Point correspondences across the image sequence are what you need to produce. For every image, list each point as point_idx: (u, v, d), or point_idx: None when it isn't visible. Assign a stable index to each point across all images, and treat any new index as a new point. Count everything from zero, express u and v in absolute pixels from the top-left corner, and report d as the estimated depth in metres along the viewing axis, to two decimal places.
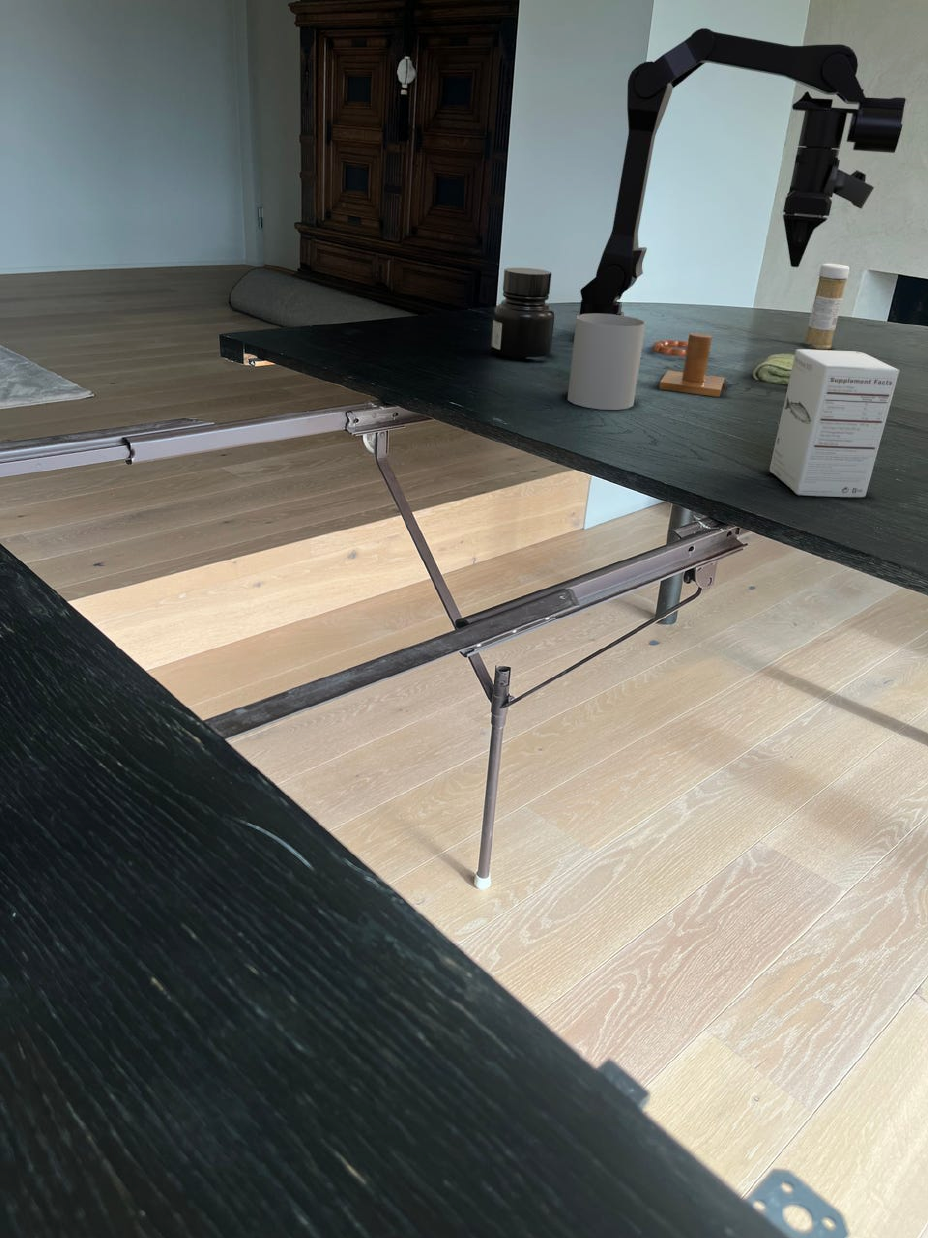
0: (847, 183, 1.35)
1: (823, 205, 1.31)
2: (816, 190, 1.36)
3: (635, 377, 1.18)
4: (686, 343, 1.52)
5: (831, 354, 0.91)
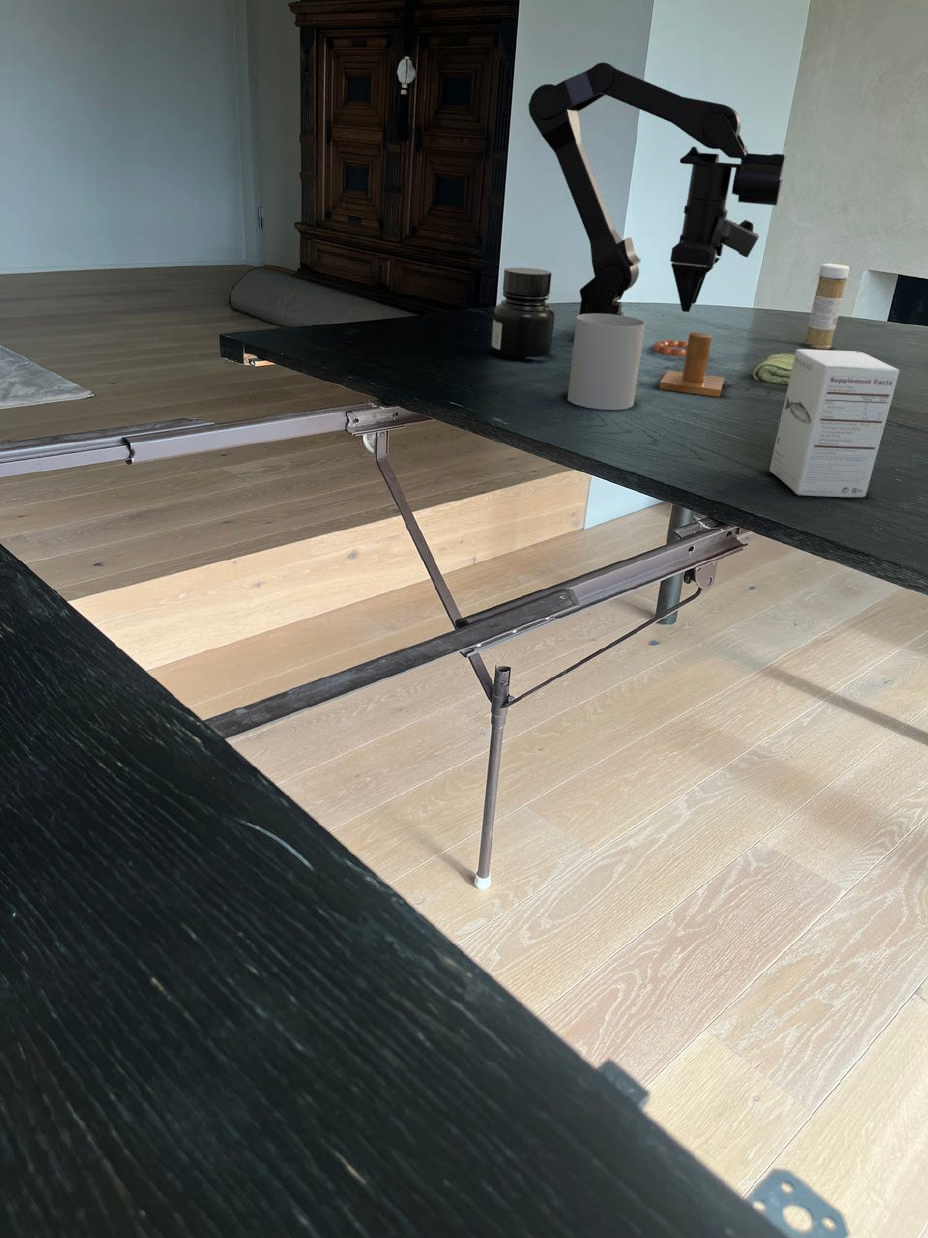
0: (733, 233, 1.42)
1: (706, 256, 1.38)
2: (704, 239, 1.43)
3: (635, 377, 1.18)
4: (686, 343, 1.52)
5: (831, 354, 0.91)
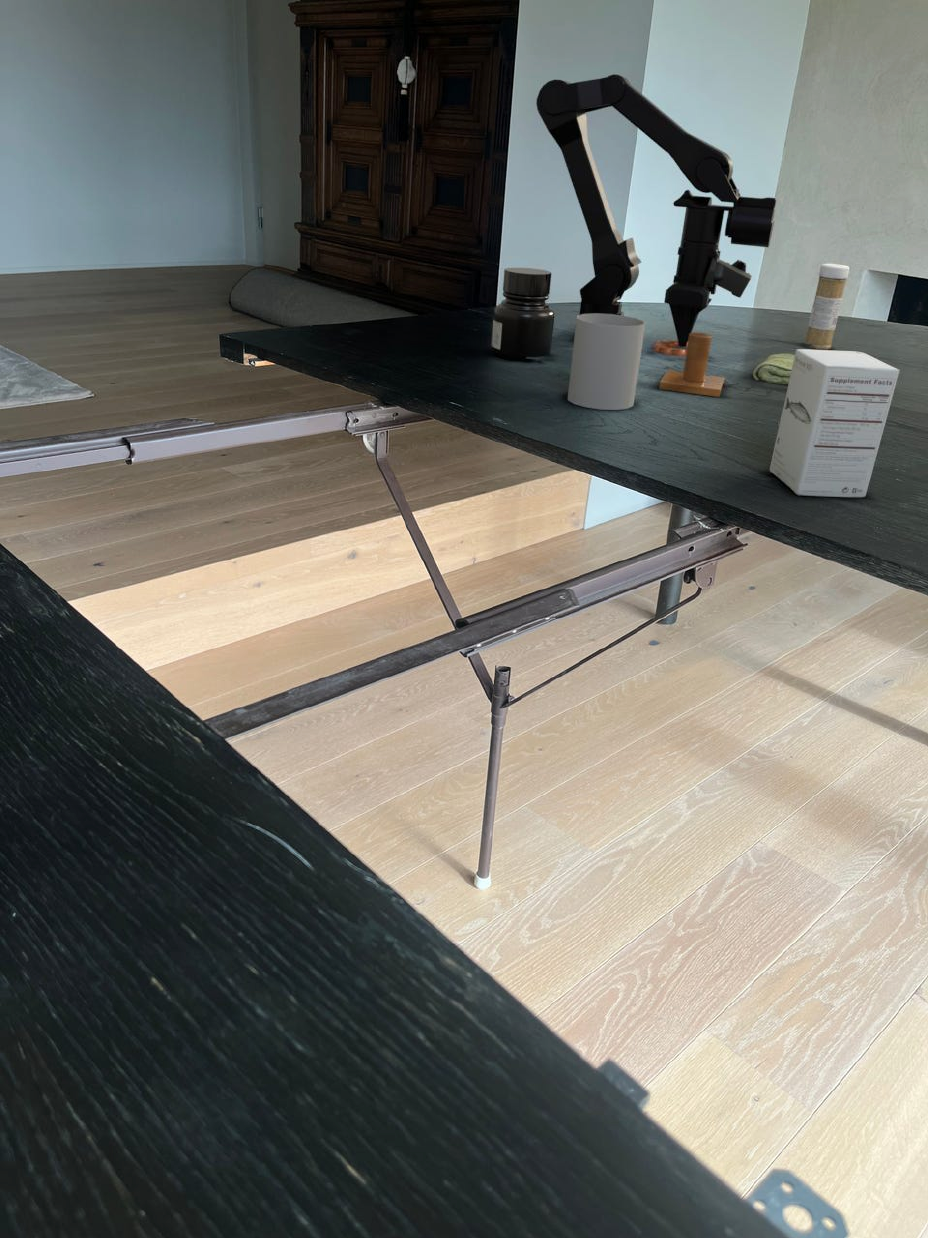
0: (725, 275, 1.45)
1: (700, 298, 1.41)
2: (697, 280, 1.46)
3: (635, 377, 1.18)
4: None
5: (831, 354, 0.91)
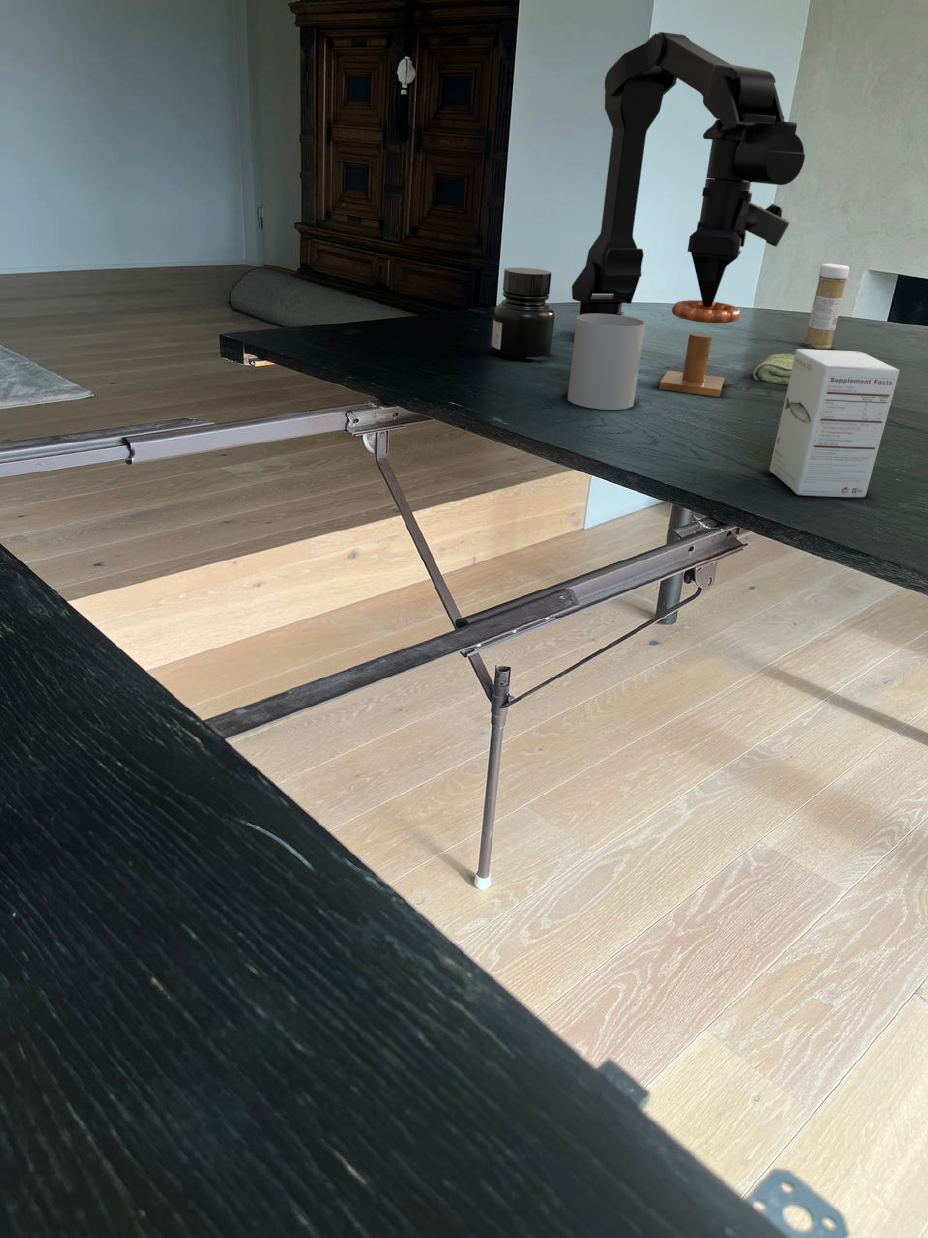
0: (759, 219, 1.22)
1: (730, 244, 1.18)
2: (726, 226, 1.23)
3: (635, 377, 1.18)
4: (712, 303, 1.30)
5: (831, 354, 0.91)
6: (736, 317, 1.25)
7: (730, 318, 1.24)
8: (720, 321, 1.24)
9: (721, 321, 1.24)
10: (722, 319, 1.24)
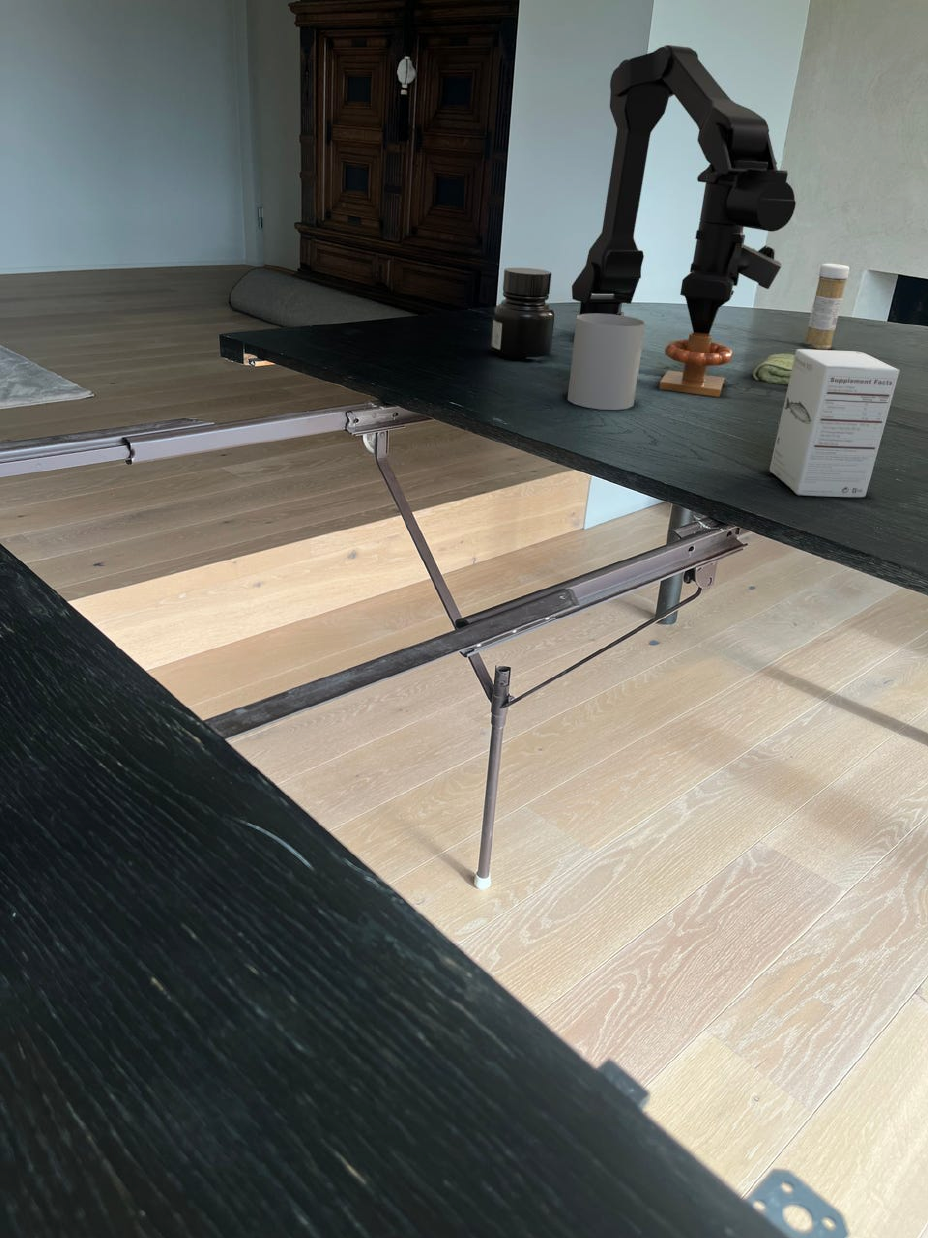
0: (752, 262, 1.24)
1: (722, 289, 1.20)
2: (719, 269, 1.25)
3: (635, 377, 1.18)
4: None
5: (831, 354, 0.91)
6: (728, 359, 1.27)
7: (722, 361, 1.26)
8: (712, 364, 1.26)
9: (713, 364, 1.26)
10: (714, 362, 1.26)
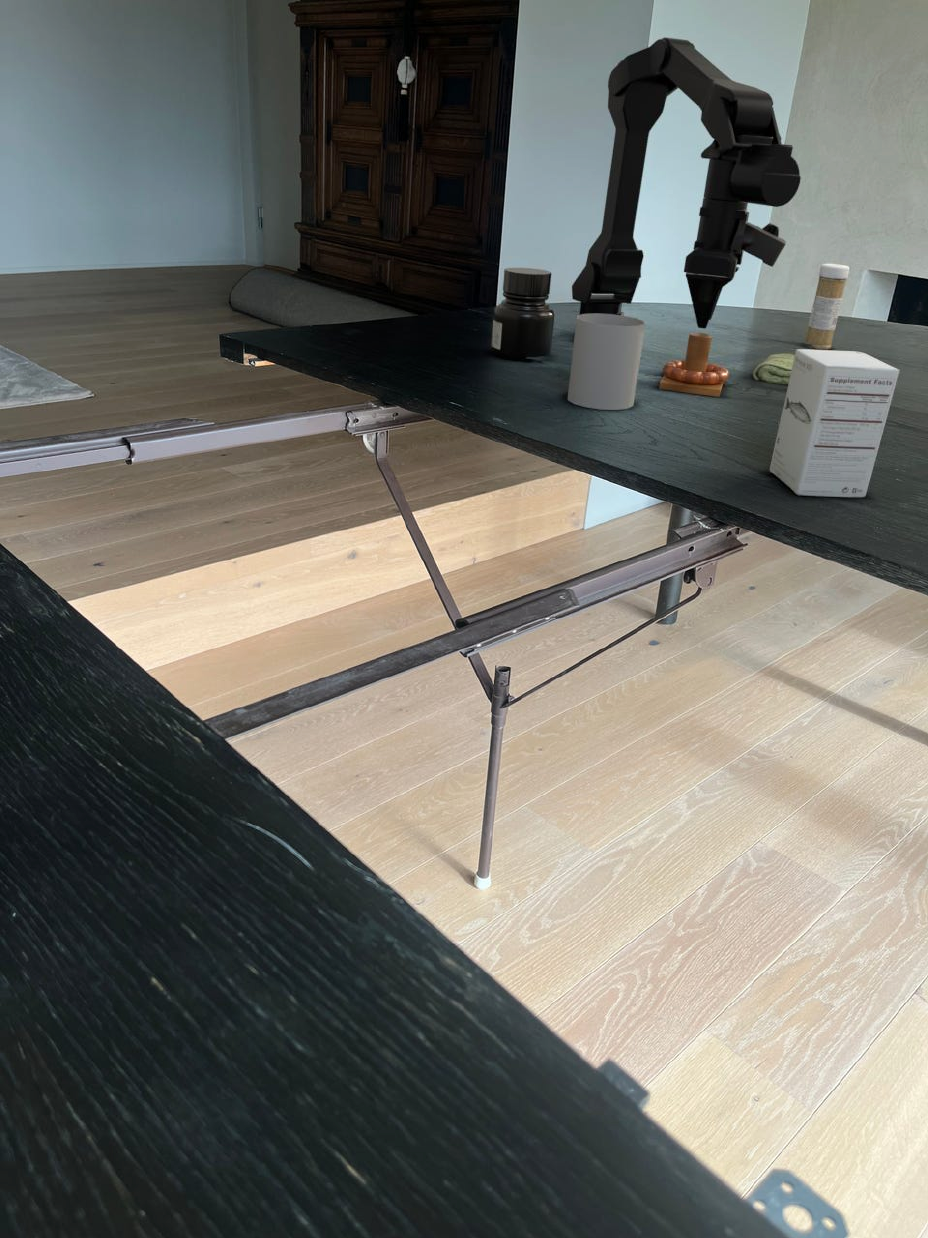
0: (756, 239, 1.22)
1: (726, 265, 1.19)
2: (723, 246, 1.24)
3: (635, 377, 1.18)
4: None
5: (831, 354, 0.91)
6: (724, 378, 1.29)
7: (719, 380, 1.28)
8: (709, 382, 1.28)
9: (710, 382, 1.28)
10: (711, 381, 1.28)
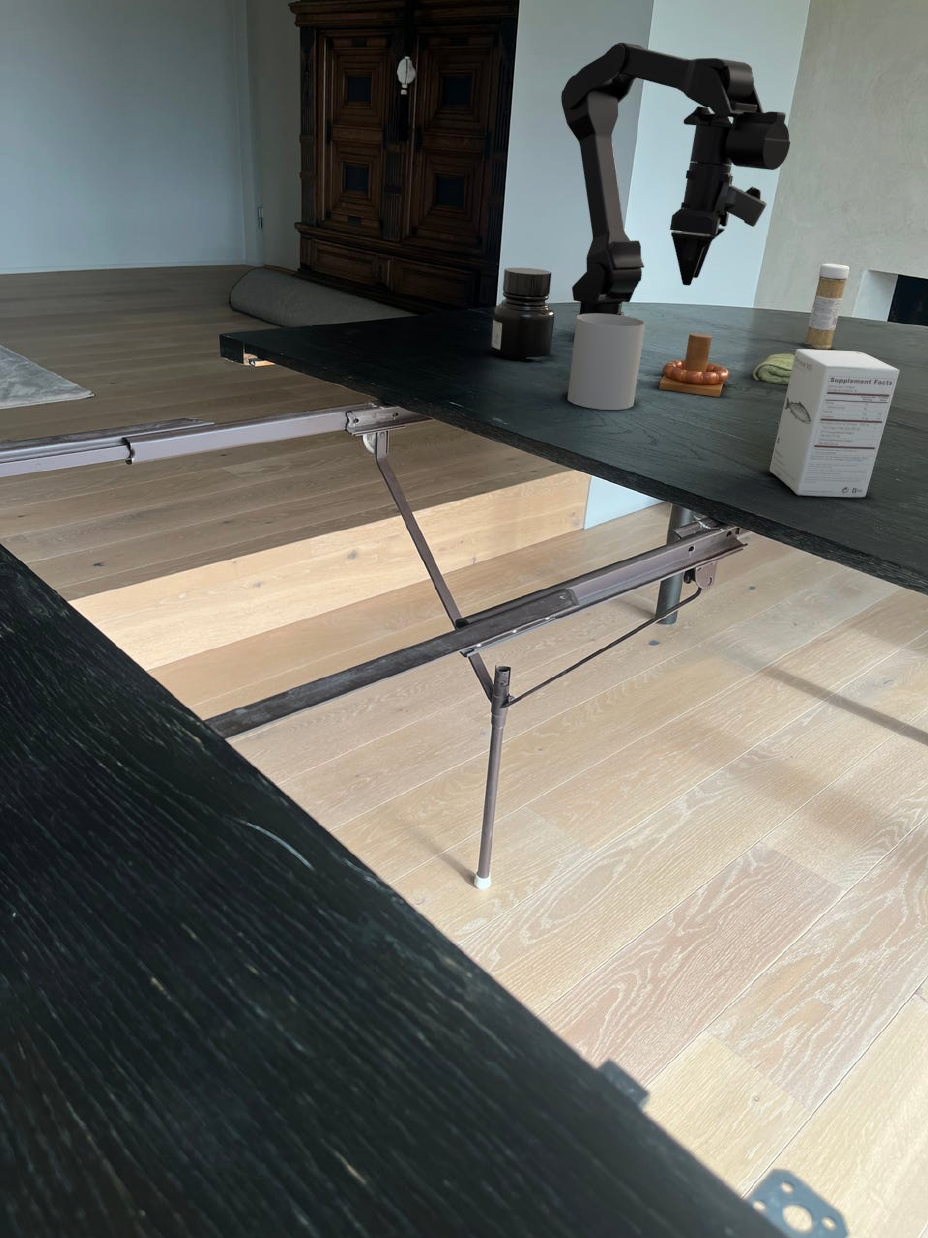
0: (738, 200, 1.32)
1: (709, 224, 1.28)
2: (707, 207, 1.33)
3: (635, 377, 1.18)
4: None
5: (831, 354, 0.91)
6: (724, 378, 1.29)
7: (719, 380, 1.28)
8: (709, 382, 1.28)
9: (710, 382, 1.28)
10: (711, 381, 1.28)
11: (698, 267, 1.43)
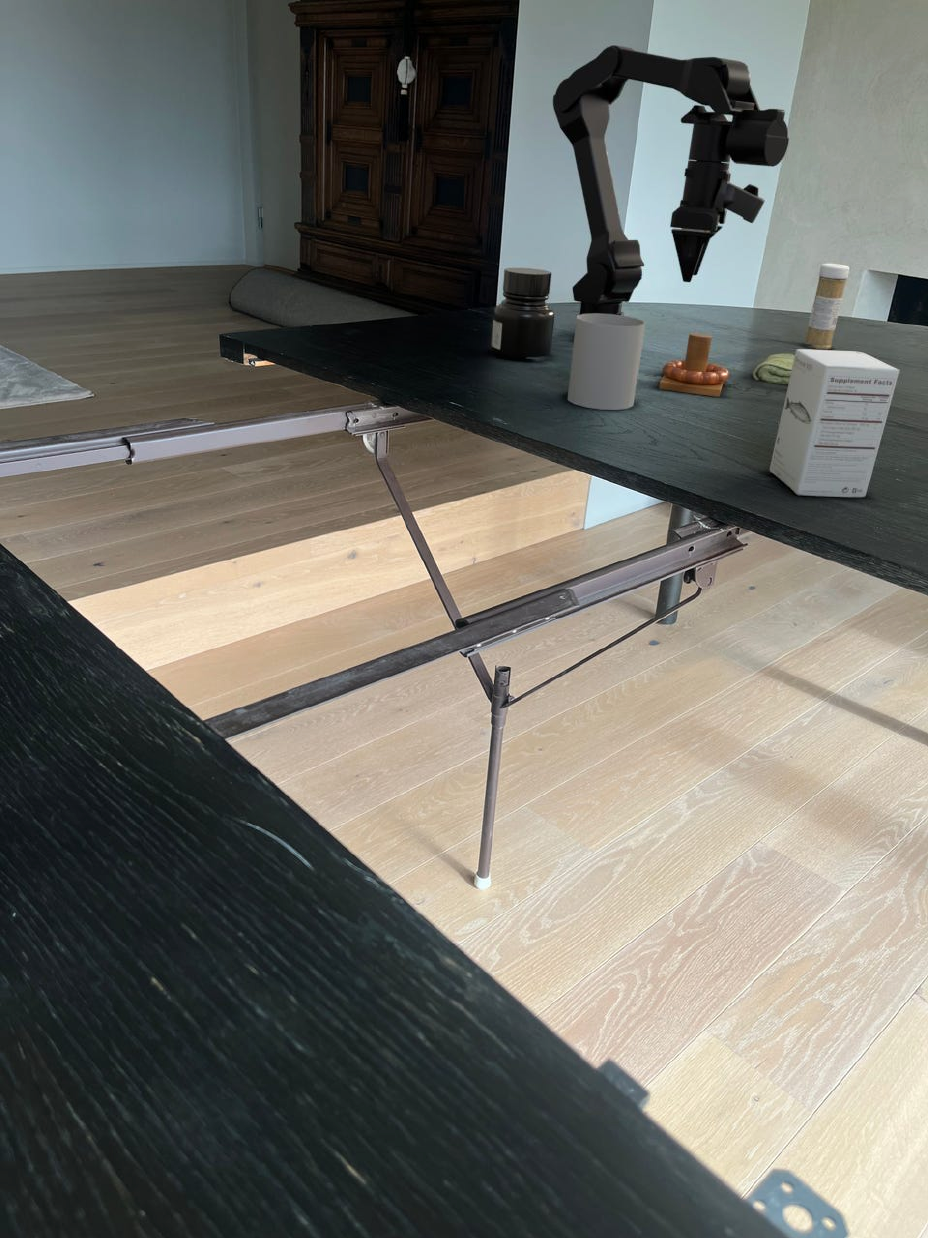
0: (737, 197, 1.33)
1: (709, 220, 1.29)
2: (706, 204, 1.34)
3: (635, 377, 1.18)
4: None
5: (831, 354, 0.91)
6: (724, 378, 1.29)
7: (719, 380, 1.28)
8: (709, 382, 1.28)
9: (710, 382, 1.28)
10: (711, 381, 1.28)
11: (697, 264, 1.44)
